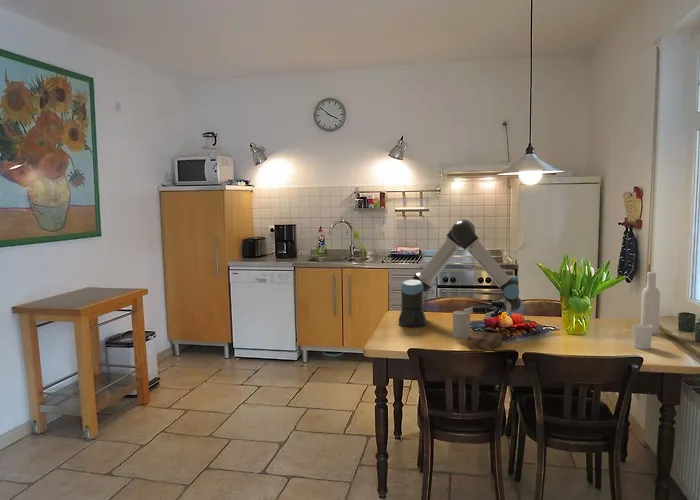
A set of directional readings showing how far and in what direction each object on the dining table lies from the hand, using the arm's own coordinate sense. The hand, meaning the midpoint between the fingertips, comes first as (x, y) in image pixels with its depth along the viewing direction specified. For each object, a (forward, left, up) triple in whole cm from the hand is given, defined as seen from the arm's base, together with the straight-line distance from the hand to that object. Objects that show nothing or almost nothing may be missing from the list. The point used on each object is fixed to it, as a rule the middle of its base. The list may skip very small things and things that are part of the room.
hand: (474, 314), depth 262 cm
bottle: (+75, +39, -10) cm, 85 cm away
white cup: (+73, +10, -10) cm, 75 cm away
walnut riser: (+11, -20, -10) cm, 25 cm away
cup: (-4, -9, -10) cm, 14 cm away
